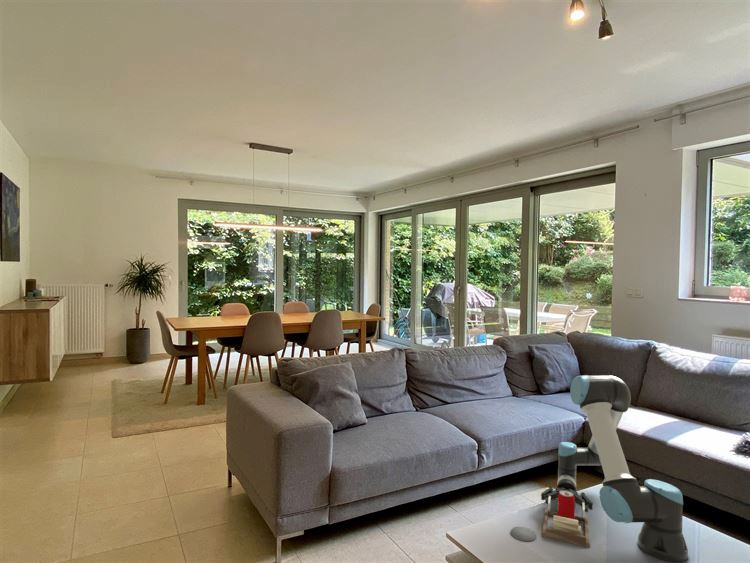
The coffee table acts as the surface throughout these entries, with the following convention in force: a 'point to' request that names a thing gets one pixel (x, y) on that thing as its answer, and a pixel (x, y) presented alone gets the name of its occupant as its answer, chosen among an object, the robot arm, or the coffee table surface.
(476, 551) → the coffee table surface
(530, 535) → the slate pad
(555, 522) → the plywood offcut stack
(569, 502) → the beverage can
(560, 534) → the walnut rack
